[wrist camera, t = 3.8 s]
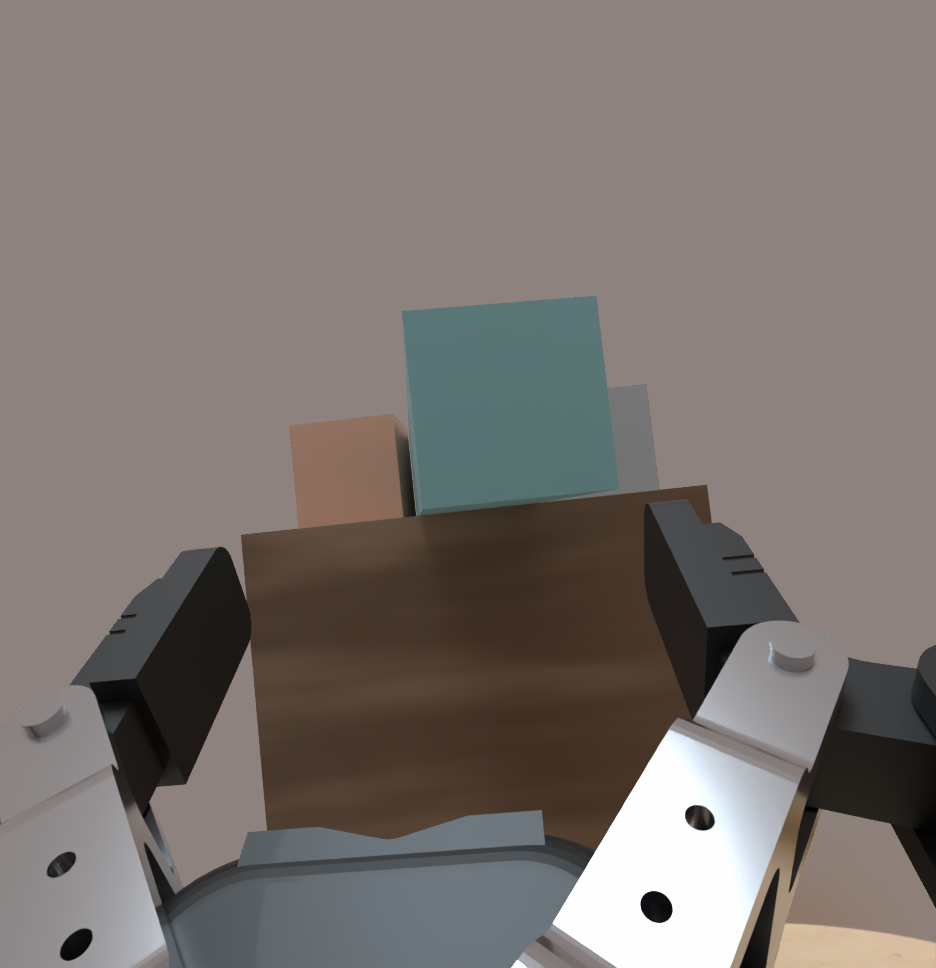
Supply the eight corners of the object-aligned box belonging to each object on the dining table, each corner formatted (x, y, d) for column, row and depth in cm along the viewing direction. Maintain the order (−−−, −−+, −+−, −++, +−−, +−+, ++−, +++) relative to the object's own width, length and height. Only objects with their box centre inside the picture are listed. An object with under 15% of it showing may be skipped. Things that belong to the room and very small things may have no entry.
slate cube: (659, 491, 27) (646, 383, 28) (550, 503, 28) (538, 396, 28) (639, 494, 32) (628, 401, 32) (545, 504, 32) (535, 412, 32)
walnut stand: (836, 1517, 20) (706, 484, 22) (328, 1519, 22) (241, 535, 23) (701, 1093, 35) (629, 496, 37) (405, 1107, 36) (348, 526, 38)
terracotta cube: (403, 518, 28) (392, 413, 28) (299, 529, 28) (289, 425, 29) (416, 518, 33) (406, 428, 33) (326, 528, 33) (317, 438, 33)
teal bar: (619, 488, 13) (596, 295, 14) (421, 509, 13) (401, 311, 13) (488, 511, 37) (480, 441, 38) (417, 519, 37) (410, 447, 37)
